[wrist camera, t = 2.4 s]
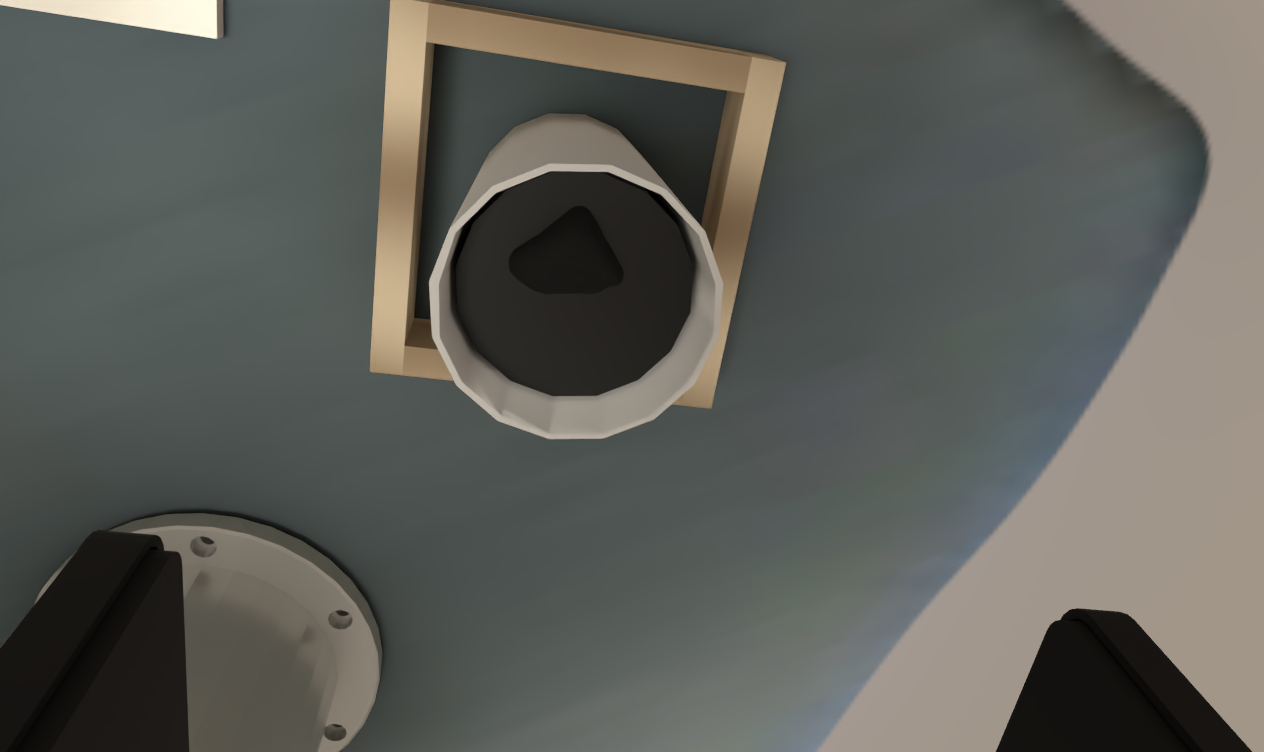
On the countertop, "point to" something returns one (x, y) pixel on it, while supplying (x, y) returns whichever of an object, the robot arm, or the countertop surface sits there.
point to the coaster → (140, 13)
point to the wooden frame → (434, 20)
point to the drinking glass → (573, 284)
